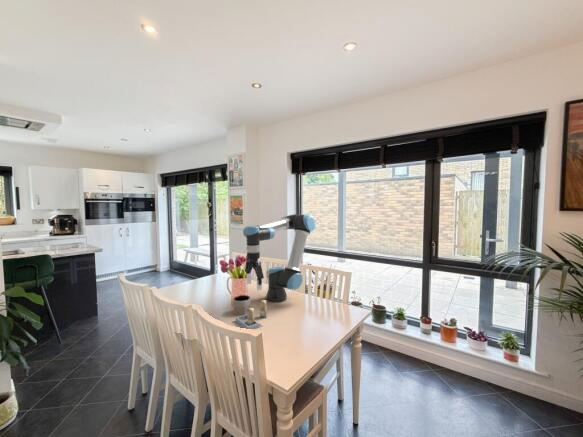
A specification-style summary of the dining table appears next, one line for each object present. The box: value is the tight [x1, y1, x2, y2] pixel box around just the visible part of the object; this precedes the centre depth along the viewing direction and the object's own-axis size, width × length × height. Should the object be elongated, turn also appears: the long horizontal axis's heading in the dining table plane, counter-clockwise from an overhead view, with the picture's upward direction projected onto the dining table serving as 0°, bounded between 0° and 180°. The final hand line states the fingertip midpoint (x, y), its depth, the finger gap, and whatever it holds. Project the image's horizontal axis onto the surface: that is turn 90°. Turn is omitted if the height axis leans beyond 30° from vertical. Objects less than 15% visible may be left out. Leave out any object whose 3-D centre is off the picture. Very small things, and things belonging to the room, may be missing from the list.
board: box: [232, 314, 264, 330], centre depth 149 cm, size 12×16×3 cm
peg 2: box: [259, 299, 267, 319], centre depth 158 cm, size 4×4×10 cm
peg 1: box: [247, 307, 255, 326], centre depth 145 cm, size 4×4×10 cm
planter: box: [232, 294, 252, 316], centre depth 165 cm, size 11×11×10 cm
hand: (254, 286), depth 155 cm, fingers open, 13 cm apart
